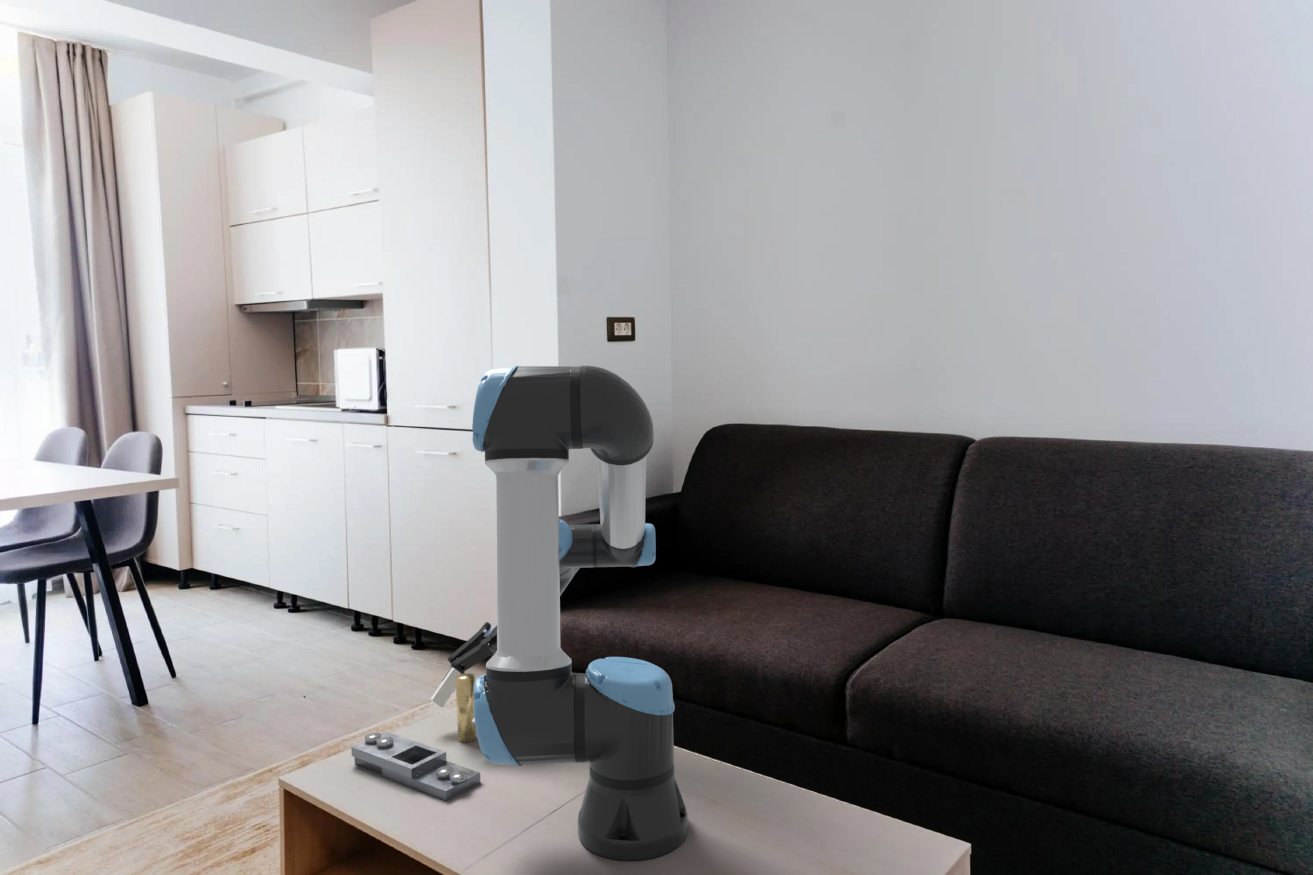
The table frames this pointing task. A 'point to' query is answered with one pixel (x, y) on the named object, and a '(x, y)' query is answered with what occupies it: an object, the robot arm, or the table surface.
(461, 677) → the pin
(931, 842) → the table surface
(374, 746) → the riveted socket plate
